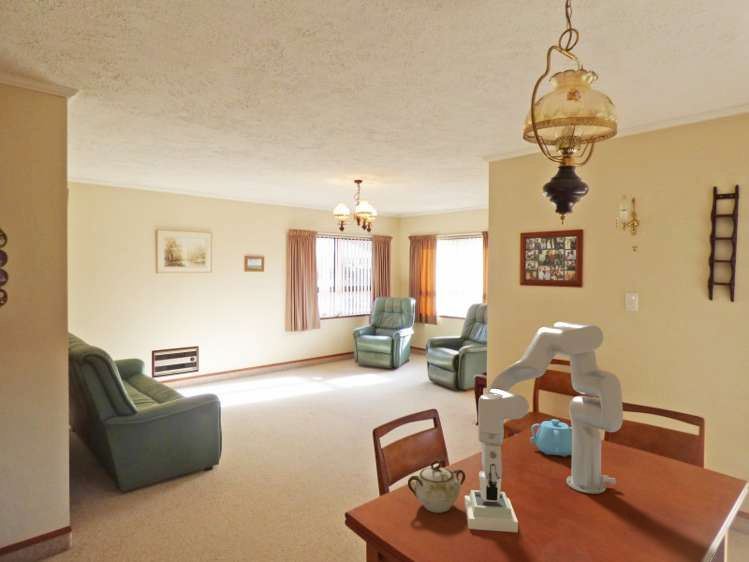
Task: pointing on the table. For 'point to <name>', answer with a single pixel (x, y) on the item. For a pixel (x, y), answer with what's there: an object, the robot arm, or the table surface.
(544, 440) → the decorative pot
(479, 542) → the table surface
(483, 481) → the white short cylinder
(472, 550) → the table surface
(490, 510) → the stand
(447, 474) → the sugar bowl
